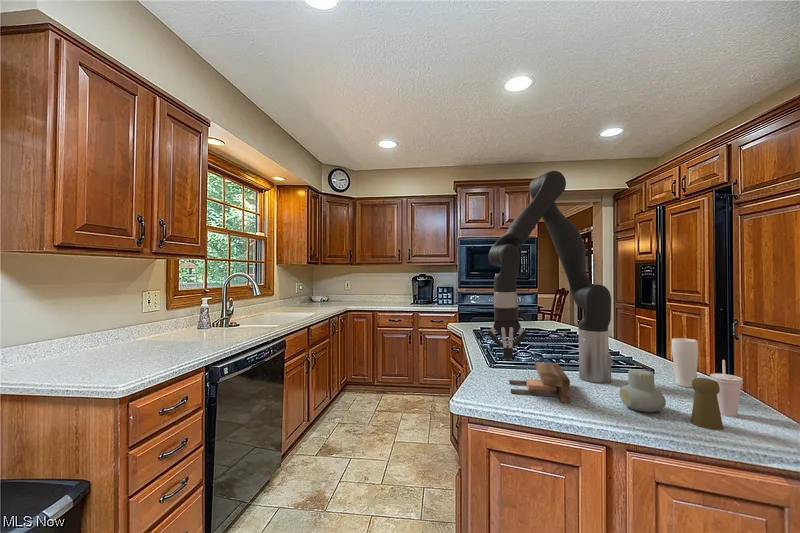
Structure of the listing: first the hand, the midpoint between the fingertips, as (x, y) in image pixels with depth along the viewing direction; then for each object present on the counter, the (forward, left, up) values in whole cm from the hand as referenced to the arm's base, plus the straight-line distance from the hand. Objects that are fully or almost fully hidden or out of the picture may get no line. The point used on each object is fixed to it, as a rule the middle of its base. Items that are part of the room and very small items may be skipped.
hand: (508, 359), depth 115 cm
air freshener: (-34, +10, -10) cm, 37 cm away
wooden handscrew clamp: (-9, 0, -9) cm, 13 cm away
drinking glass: (-56, -16, -10) cm, 59 cm away
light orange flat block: (-10, 0, -9) cm, 14 cm away
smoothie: (-54, +9, -10) cm, 56 cm away
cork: (-45, +18, -10) cm, 50 cm away
